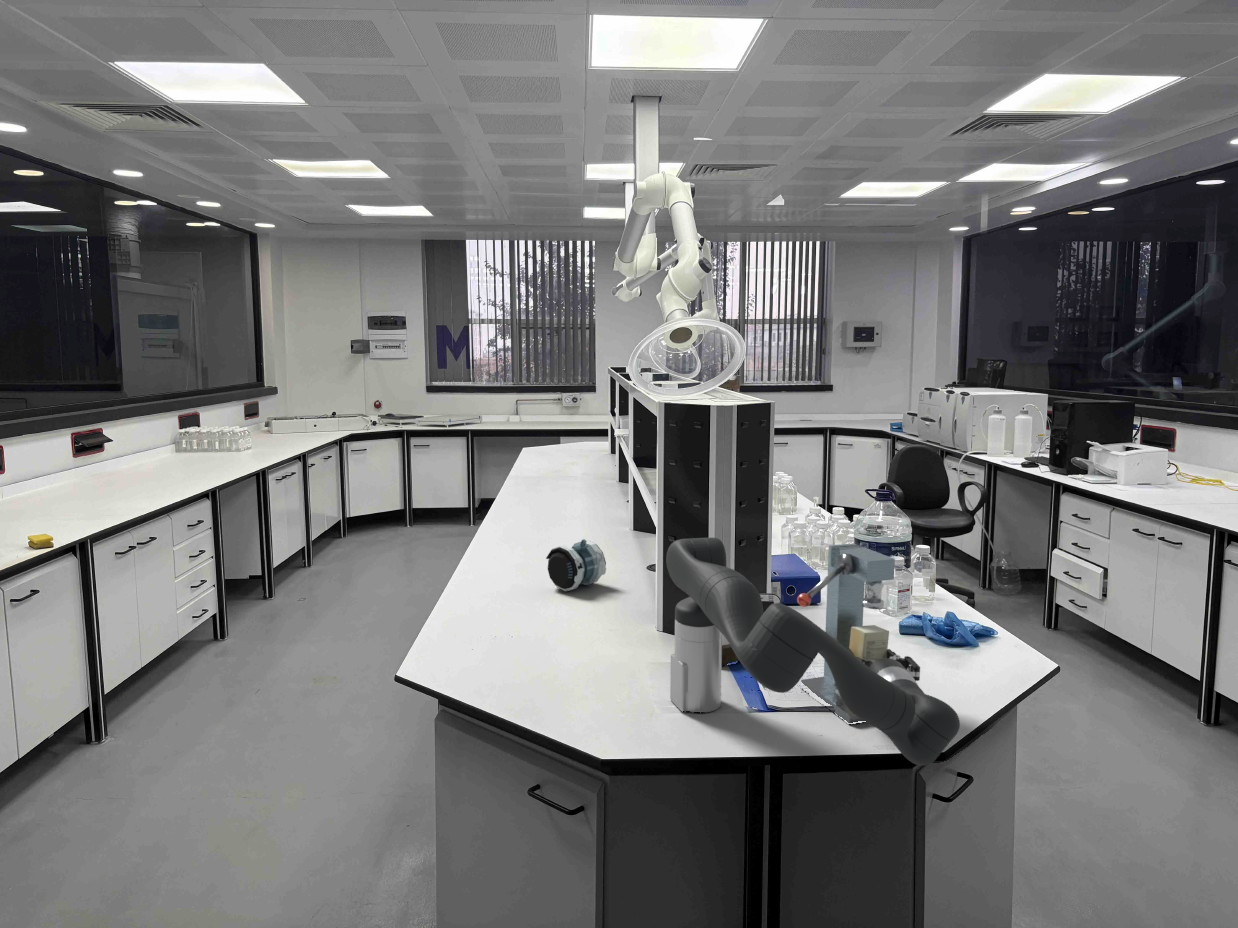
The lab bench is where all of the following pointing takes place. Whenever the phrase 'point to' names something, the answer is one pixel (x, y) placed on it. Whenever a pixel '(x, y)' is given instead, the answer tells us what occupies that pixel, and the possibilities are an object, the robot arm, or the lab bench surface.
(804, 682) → the arbor press
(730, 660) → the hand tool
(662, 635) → the lab bench surface
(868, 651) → the skincare box
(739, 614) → the robot arm
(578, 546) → the gadget
